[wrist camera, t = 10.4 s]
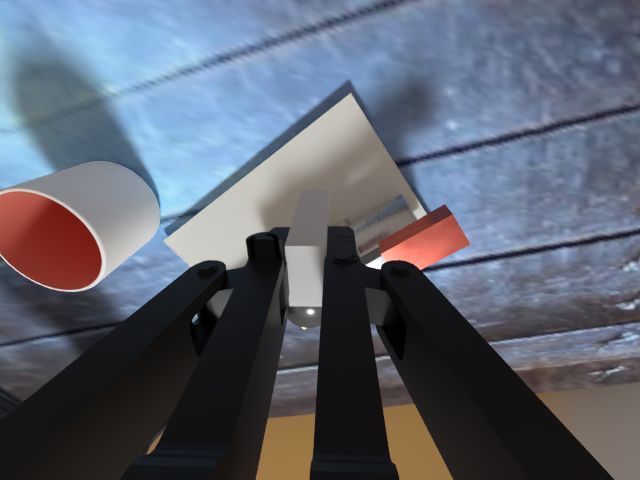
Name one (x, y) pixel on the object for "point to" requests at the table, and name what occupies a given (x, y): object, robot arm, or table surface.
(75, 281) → the cup
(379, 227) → the valve
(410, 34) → the table surface
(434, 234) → the lever
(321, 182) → the board
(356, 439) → the robot arm
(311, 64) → the table surface
